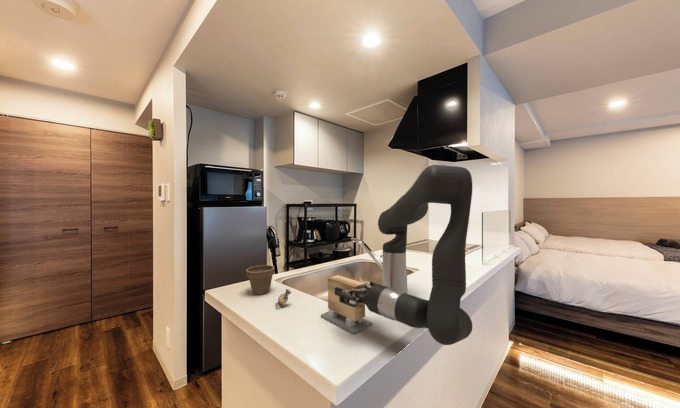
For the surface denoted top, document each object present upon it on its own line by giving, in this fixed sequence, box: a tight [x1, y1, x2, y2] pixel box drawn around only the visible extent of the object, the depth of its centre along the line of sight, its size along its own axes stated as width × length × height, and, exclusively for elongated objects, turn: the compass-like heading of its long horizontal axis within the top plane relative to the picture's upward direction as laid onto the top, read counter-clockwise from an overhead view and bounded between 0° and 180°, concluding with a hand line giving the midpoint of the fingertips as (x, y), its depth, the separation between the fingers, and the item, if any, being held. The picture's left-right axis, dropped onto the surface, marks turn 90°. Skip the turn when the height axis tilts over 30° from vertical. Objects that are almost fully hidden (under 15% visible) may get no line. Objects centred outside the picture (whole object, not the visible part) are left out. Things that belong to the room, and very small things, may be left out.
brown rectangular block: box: [327, 274, 366, 321], centre depth 79 cm, size 4×12×10 cm, turn 43°
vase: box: [275, 288, 292, 310], centre depth 90 cm, size 5×5×6 cm
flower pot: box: [245, 264, 276, 296], centre depth 104 cm, size 12×11×10 cm
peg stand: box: [320, 309, 373, 335], centre depth 79 cm, size 8×15×3 cm, turn 43°
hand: (345, 287), depth 78 cm, fingers open, 8 cm apart
